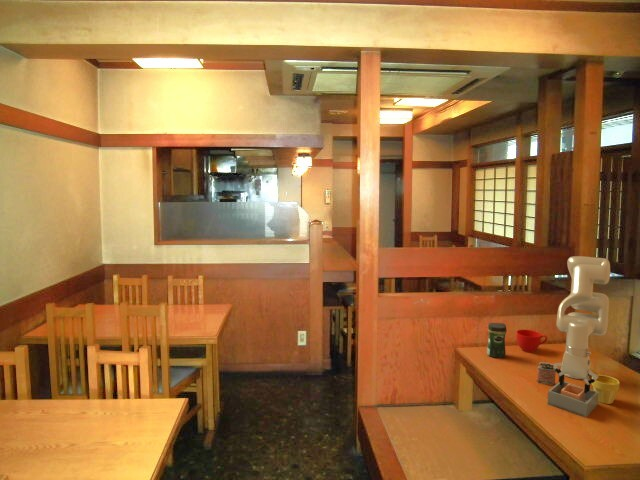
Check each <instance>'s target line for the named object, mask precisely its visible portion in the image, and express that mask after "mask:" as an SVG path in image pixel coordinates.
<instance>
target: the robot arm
mask: <svg viewBox="0 0 640 480" xmlns="http://www.w3.org/2000/svg"><path fill="white" fill-rule="evenodd" d="M566 262H567V263H566V265H567V269H568V272H569V275H570V277H571V286H570V294H569V295H567V297H565V298H564V299H563V300H562V301H561V302H560V304H559V305H558V308H557V315H556V316H557V317H556V328H557V330H559V331H560V332H564V333H566V338H565V339H566V340H565V349H564V353H563V357H562V361H561V362H555V363H552V364H553V366H554V367H553V368H555V371H556V374H557V375H558V383H559V382H560V385H562V384H564V382H565V377H568V378H571V379H576V380H582V381H584V383H585V384H584V393H587V392H588V391H590V390H591V385H592V384H591V383H593V382H595V381H596V380H597V378H598V375H599V374H596V373H595V372H594V371H592V370H591V361H590V359H591V358H590V355H592V351H591V350H589V336H590V335H595V336H604V335H606V333H607V331H608V325H609V310H610V299H609V297H608V295H606V294H605V293H603V292H602V293H601V292H595V291H593V290H594V284H597V285H607V284H608V283H609V282H610V279H611V263H610V260H609V259H608V258H603V257H594V256H592V257H591V256H583V255H582V256H580V255H577V256H570V257H569V258H568V259H567V261H566ZM570 307H571V308H573V309H574V310H577V311H585V313H584V312H577V311H575V312H574V311H573V312H569V313H568V314H565V313H566V309H568V308H570ZM586 312H591V313H596V314H591V313H586ZM559 367H561V368H559ZM590 376H591V377H592V376H593V379H592V378H590Z"/></svg>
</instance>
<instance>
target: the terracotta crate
mask: <svg viewBox="0 0 640 480" xmlns="http://www.w3.org/2000/svg"><path fill="white" fill-rule="evenodd" d="M571 384H572V383H571ZM571 384H568V385H566V386H565V387H564V388H563V389H562V390H561V394H562V395H565V396H568V397H571V398H574V399H577V400H580V401H583V402H585V395H586V393H584V388H585V387H584V388H580V387H577V386H578V385H577V386H574V385H575V384H574V385H571Z"/></svg>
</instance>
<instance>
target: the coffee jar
mask: <svg viewBox="0 0 640 480" xmlns="http://www.w3.org/2000/svg"><path fill="white" fill-rule="evenodd" d="M487 332H488V342H487V346H486V354H487V356H489V357H492V358H505V357H506V355H507V354H506V334H507V325H506V324H505V323H504V322H488V327H487Z"/></svg>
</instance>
